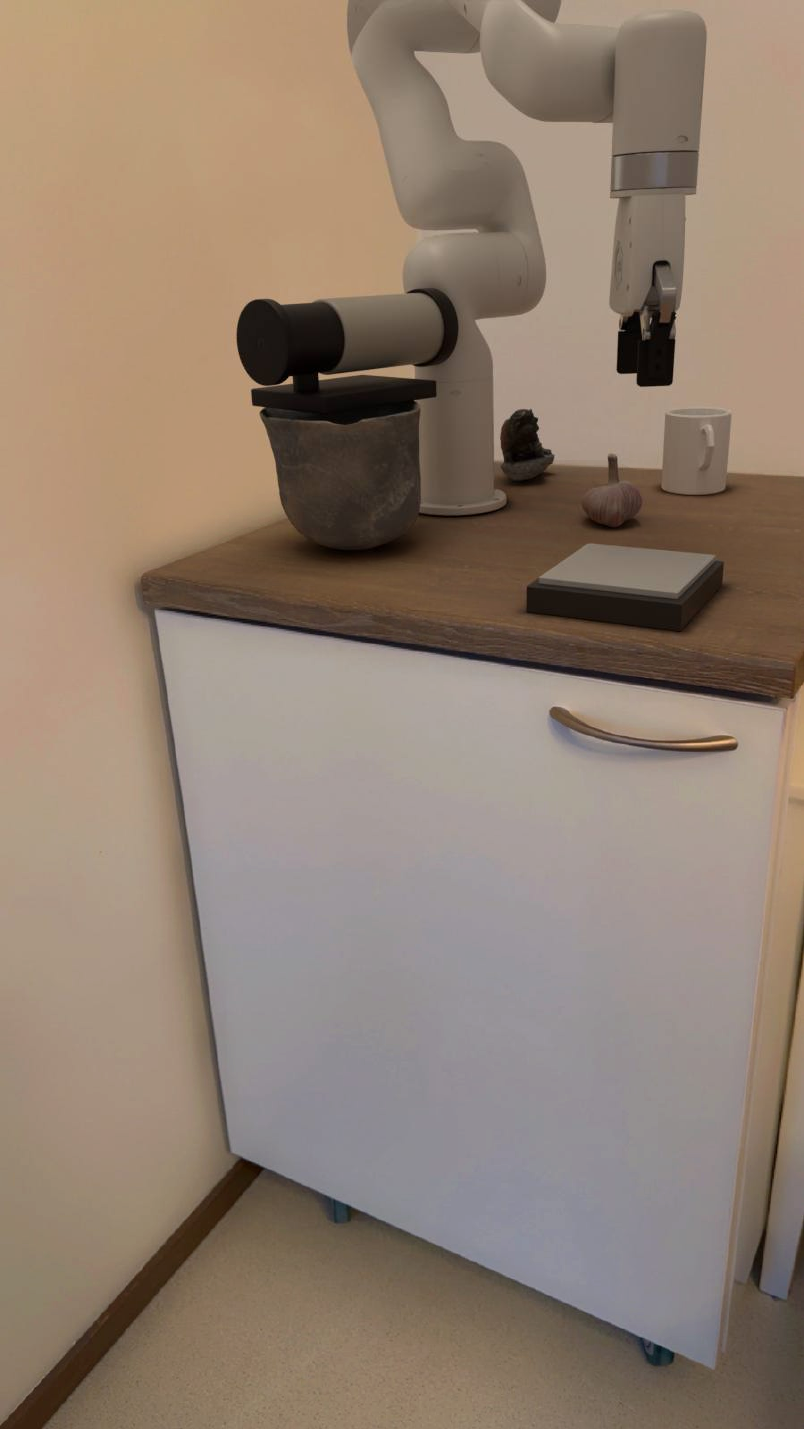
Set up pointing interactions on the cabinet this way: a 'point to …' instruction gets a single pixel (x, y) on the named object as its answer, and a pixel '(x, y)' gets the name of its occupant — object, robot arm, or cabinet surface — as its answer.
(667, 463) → the mug
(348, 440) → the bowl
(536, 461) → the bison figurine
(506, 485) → the cabinet surface
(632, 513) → the garlic bulb
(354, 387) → the light fixture
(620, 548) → the scale
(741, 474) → the cabinet surface
